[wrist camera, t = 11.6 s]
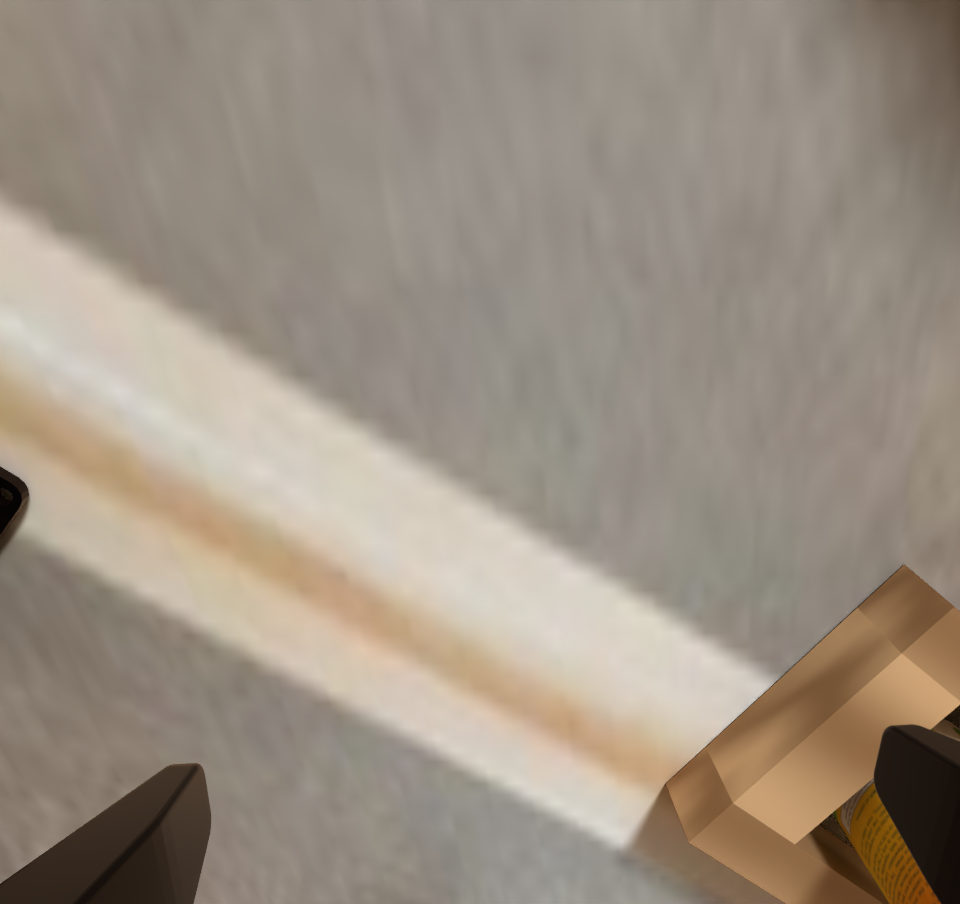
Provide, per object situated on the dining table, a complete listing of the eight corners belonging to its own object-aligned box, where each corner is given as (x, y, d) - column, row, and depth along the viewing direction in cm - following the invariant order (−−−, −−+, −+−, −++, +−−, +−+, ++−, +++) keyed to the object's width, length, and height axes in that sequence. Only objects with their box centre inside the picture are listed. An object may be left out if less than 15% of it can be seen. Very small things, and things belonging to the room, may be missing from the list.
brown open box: (894, 933, 31) (932, 996, 29) (665, 783, 28) (688, 842, 25) (1121, 754, 29) (1184, 808, 26) (904, 564, 25) (954, 606, 23)
